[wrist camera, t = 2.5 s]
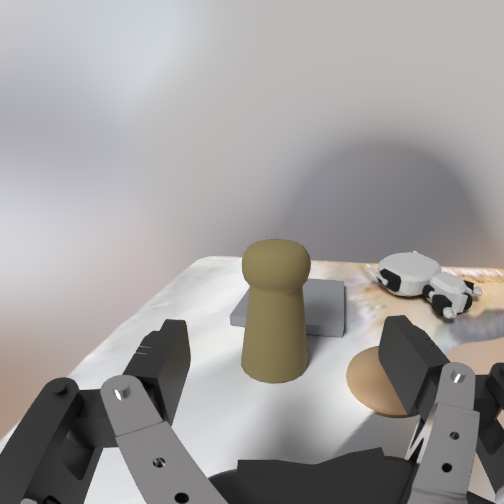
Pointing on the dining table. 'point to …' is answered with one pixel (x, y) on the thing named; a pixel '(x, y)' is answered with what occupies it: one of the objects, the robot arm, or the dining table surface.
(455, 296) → the robot toy
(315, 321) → the slate tile
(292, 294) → the pepper shaker
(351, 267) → the dining table surface
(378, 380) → the cork coaster
